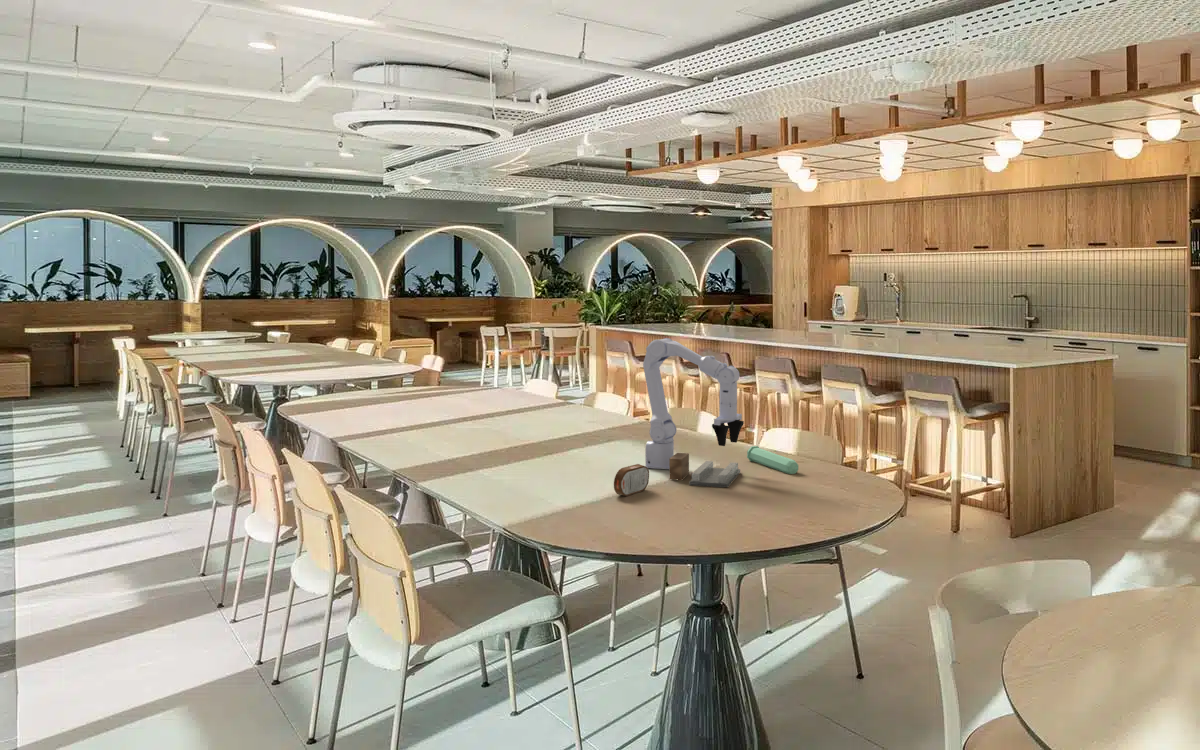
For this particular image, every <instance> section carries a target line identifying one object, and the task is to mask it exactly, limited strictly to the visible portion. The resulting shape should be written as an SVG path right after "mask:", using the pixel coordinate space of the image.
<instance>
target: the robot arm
mask: <svg viewBox="0 0 1200 750" xmlns="http://www.w3.org/2000/svg"><path fill="white" fill-rule="evenodd" d="M645 351H646V352H645V356H644V359H643V363H642V366H643V372H644V378H645V382H646V388H647V393H648V399H649V403H650V408H651V418H650V422H649V423H650V429H649V436H650V438H651V439H652V440H647V442H646V444H645V453H644V454H645V455H644V456H645V466H646V467H647V468H648V469H656V470H657V469H658V470H669V459H670V458H671V457H672V456H674V455H675V451H674V449H675V446H674V445H675V442H674V441H675V440H674V436H675V435H676V434H677V426H676V424H675V422H674V421H673V418H672V415H671V414H670V413H669V412H668V406H667V401H666V396H665V389H664V385H663V380H662V375H661V369H660V367H661V366H662V364H663V363H664V362H665V360H667V359H668V358H670V357H679V358H681V359H683V360H686V361H688V362H690V363H692V364H694V365H697V367H698V370H699V371H700V372H702V373H704V374H706V375H707V376H709V377H711V378H714V379H715V380H717V383H719V405H718V406H719V408H718V409H719V413H718V414H719V415H718V416H716V418H713V423H712V424H711V427H712V429H713V431H714V433H715V436H716V439H717V444H718V446H720V447H726V445H727V437H728V434H729V441H730V443H737V442H738V440H739V435H740V432H741V429H742V427H743V425H744V424H745V421H744V420H743V417H742V416H743V415H742V413H738V381H739V380H740V375H741V374H740V371H739V370H738V369H737V367H735V366H734V365H728V363H726V362H722V361H719V360H717V359H716V356H714V355H705V356H702V355H701V354H699V353H697V352H695V351H694V350H692V349H690V348H689V347H687V346H685V345H683V344H682V343H680V342H679V341H676V340H672V339H671V338H669V337H665V338H662V339H660V338H659V339H654V340H652V341H651V342H649V344H648V345H647V346H646V348H645ZM728 432H729V433H728Z"/></svg>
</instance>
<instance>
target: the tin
mask: <svg viewBox="0 0 1200 750" xmlns="http://www.w3.org/2000/svg"><path fill="white" fill-rule="evenodd" d="M649 480H650V470H649V468H647V467H646V465H641V464H640V463H636V464H633V465H628V466H624V467H622V468H620V469H619V470H618V471H616V473H615V476H614V479H613V490H614V492H615V493H616V494H617V495H618V496H623V497H629V496H631V495H635V494H638V493H641V492H643V491H645V490H646V488H647V486H648V484H649Z"/></svg>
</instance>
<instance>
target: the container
mask: <svg viewBox="0 0 1200 750" xmlns="http://www.w3.org/2000/svg"><path fill="white" fill-rule="evenodd" d="M746 459H748V460H749V461H750V462H753V463H754V462H755V463H757V464H760V465H763V466H765V467H768V468H771V469H774V470H777V471H779V472H782V473H785V474H787V475H795V474H796V473H797V472H798V471H799V464H798V462H797V461H796V460H794V459H792V458H789V457H787V456H786V457H785V456H784V455H780V454H778V453H774V452H771V451H769V450H765V449H762V448H760V446H758V445H752V446H750V447H749V448H748V450H747V451H746Z"/></svg>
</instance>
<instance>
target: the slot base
mask: <svg viewBox="0 0 1200 750" xmlns="http://www.w3.org/2000/svg"><path fill="white" fill-rule="evenodd" d="M739 473H740V474H741V469H740V468H739V462H734V461H733V462H731V461H730V462H729V463H728V465H727V466H726V467H725V468H722V467H721V468H720V467H714V461H713V460H705V461H704V462H703V463H701V465H699V466H698V467H697V468H696V469H695V470H694V471H693V472H692V473H691V479H690V480H689V482H688V484H689V486H693V485H694V487H695V486H696V487H697V486H698V487H710V488H711V486H712V487H713V488H724V487H727V488H728V487H730V486H731V485H732V483H733V482H734V481H735V480H736V478H737V477H738V476H739V475H740V474H739ZM734 479H735V480H734ZM733 480H734V481H733ZM732 481H733V482H732ZM731 482H732V483H731Z"/></svg>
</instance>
